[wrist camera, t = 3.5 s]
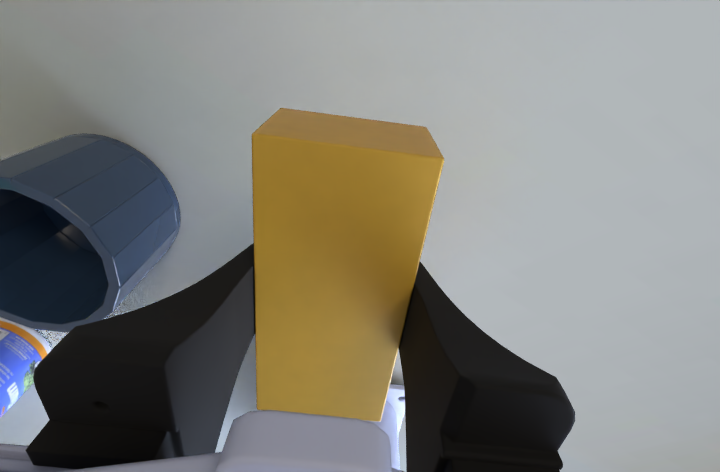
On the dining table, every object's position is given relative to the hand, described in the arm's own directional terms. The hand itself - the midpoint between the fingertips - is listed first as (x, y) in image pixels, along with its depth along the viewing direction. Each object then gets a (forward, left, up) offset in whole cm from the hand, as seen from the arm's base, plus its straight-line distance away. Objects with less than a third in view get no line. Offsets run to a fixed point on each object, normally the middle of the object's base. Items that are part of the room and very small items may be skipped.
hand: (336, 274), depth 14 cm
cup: (-2, +13, -7) cm, 15 cm away
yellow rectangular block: (0, 0, -1) cm, 1 cm away
